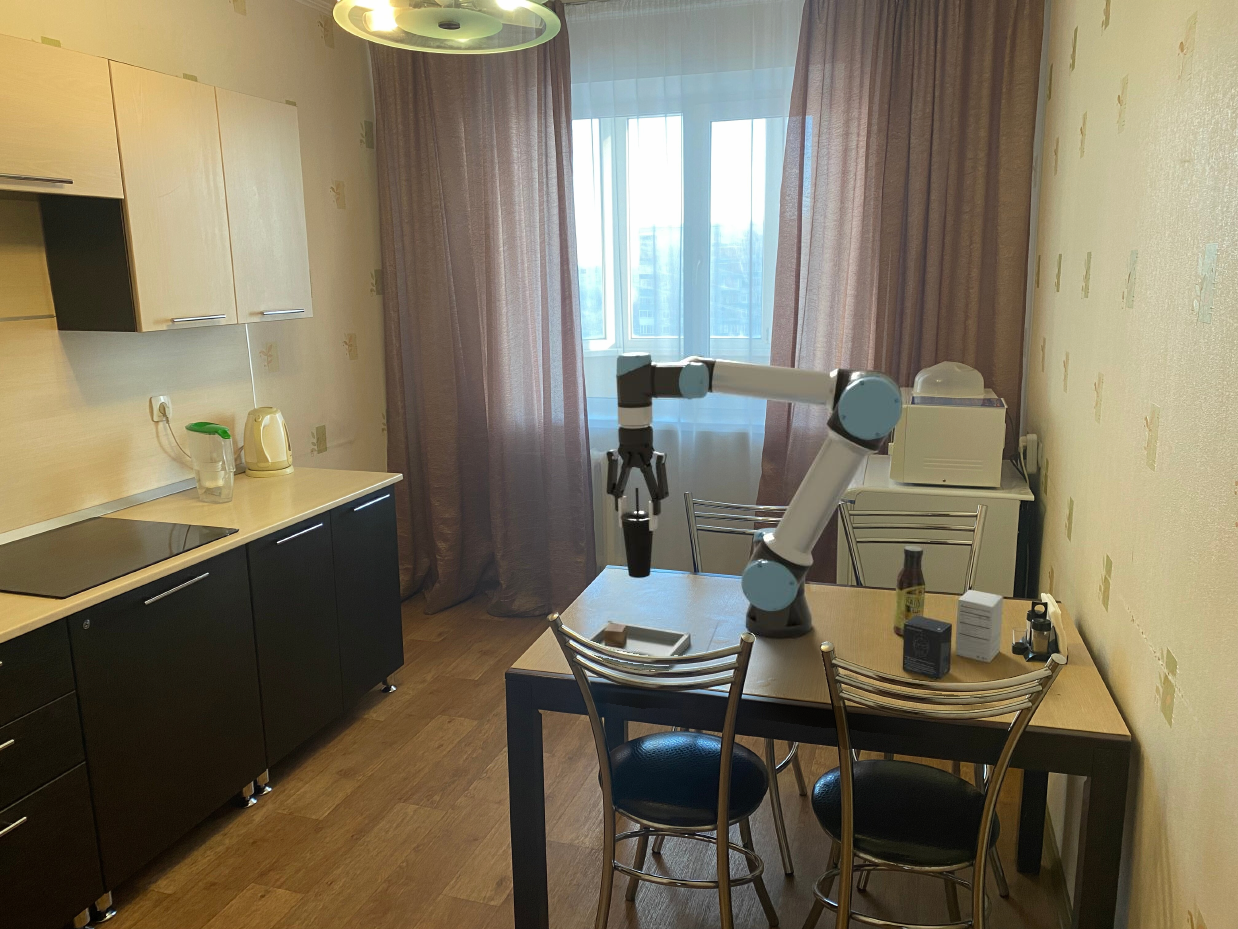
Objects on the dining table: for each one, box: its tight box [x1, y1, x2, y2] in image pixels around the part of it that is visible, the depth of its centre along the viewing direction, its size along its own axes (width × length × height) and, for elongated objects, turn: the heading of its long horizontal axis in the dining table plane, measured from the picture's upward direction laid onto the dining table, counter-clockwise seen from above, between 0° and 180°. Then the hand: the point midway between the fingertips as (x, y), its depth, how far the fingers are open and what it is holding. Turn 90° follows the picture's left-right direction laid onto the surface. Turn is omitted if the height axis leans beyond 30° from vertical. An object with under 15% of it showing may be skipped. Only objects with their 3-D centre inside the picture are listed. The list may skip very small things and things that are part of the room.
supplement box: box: [954, 589, 1004, 663], centre depth 191 cm, size 7×7×13 cm
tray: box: [586, 620, 692, 669], centre depth 197 cm, size 20×14×3 cm
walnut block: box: [604, 624, 627, 649], centre depth 199 cm, size 4×4×4 cm
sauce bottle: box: [893, 545, 927, 636], centre depth 201 cm, size 7×6×20 cm
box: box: [902, 615, 953, 681], centre depth 183 cm, size 8×6×11 cm
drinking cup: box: [621, 487, 654, 579], centre depth 200 cm, size 8×8×20 cm
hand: (638, 527), depth 199 cm, fingers closed on drinking cup, 7 cm apart
